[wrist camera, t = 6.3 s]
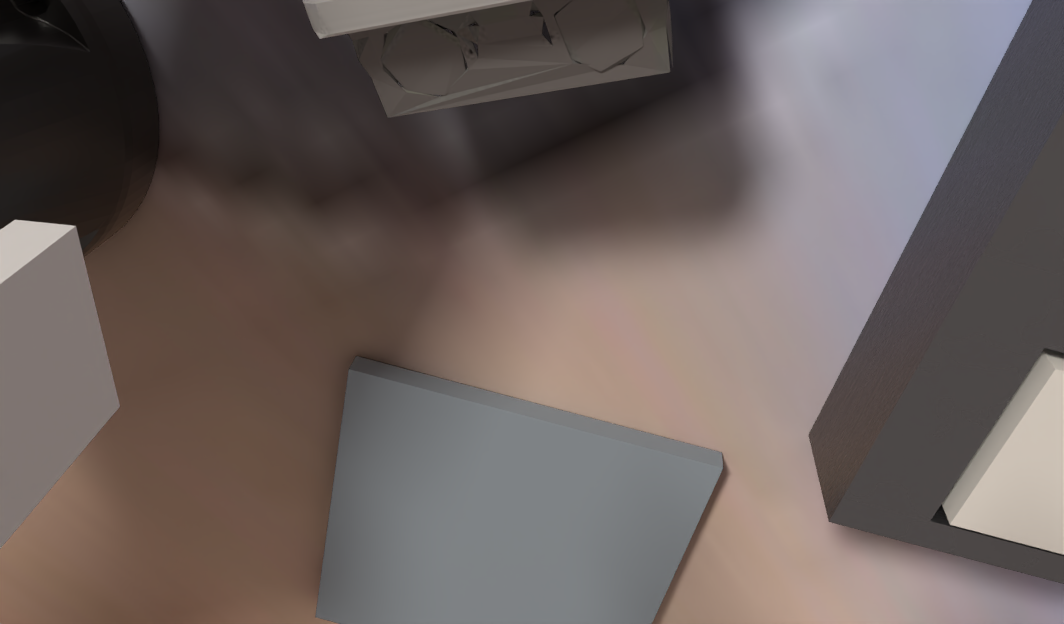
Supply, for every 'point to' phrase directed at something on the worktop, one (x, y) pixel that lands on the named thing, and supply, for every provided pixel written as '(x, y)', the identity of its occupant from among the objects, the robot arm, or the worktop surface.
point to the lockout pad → (500, 509)
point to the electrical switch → (495, 46)
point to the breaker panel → (959, 318)
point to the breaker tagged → (1019, 466)
